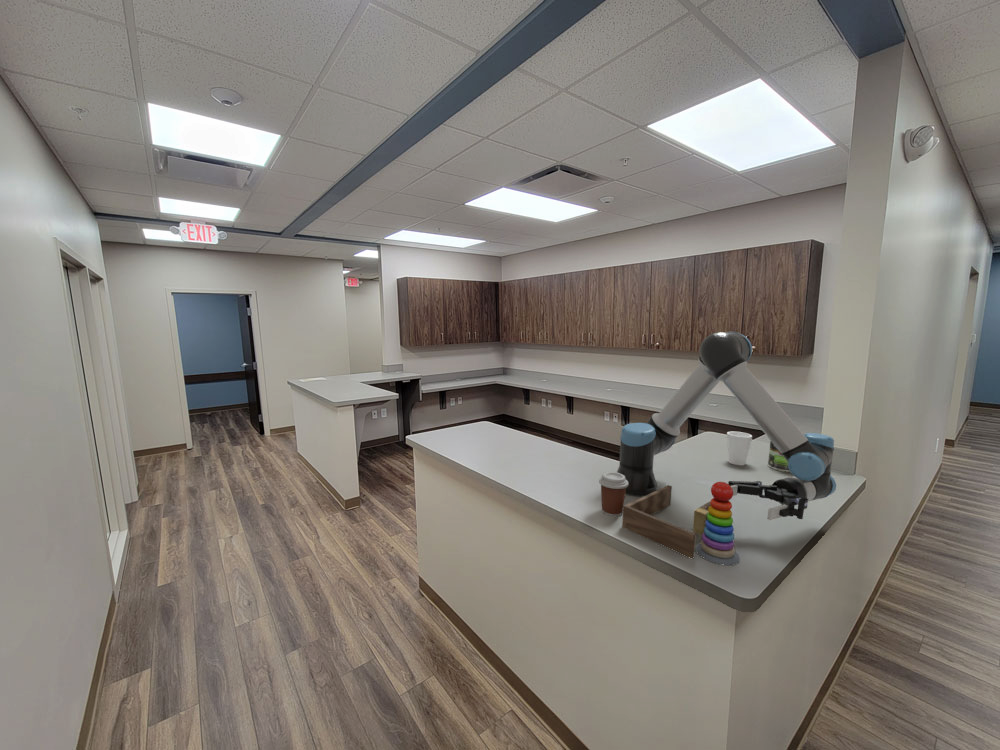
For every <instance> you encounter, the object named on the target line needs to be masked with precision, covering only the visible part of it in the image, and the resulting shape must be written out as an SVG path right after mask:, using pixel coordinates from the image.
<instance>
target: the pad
mask: <svg viewBox="0 0 1000 750" xmlns="http://www.w3.org/2000/svg"><path fill="white" fill-rule="evenodd" d="M695 550H696V551H695V552H696V553H697V552H698V553H697V554H698V556H699V557H701V556H702V557H701V558H703V557H704V558H705V559H704V558H703V559H704V560H706V559H707V560H706V561H708V560H709V561H708V562H710V561H711V562H710V563H713V562H714V564H716V563H717V565H720V564H724V565H723V566H734V565H733V564H735V565H737V564H738V563H739V562H740V555H738V553H737V552H736V551H735V554H734V555H733V556H732V557H729V558H720V557H716V556H713V555H710V554H708V553H706V552H705V551H704V550H703V549H702V547H701V542H700V543H698V544H697V545H695ZM736 563H737V564H736Z"/></svg>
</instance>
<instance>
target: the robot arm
mask: <svg viewBox="0 0 1000 750" xmlns="http://www.w3.org/2000/svg"><path fill="white" fill-rule="evenodd" d="M752 353H753V345H752V342H751V341H750V339H749V338H747V336H745V335H744V334H742V333H739V332H736V331H727V332H723V331H721V332H714V333H712V334H709V335H708V336H707V337H705V338H704V340H702V342H701V344H700V347H699V357H698V365H697V367H695V369H694V370H693V371H692V373H691V374H690V375H689V377H688V378H686V380H685V381H684V382H683V383H682V385H681V386H680V387H679V388H678V389H677V391H676V393H674V395H673V396H672V397H671V398H670V399H669V401H668V402H667V403H666V404H665V406H664V407H663V408H662V410H661V411H660V412H656V413H653V414H652V415H651V416H650V417H649V419H648V420H647V421H646V422H635V423H633V422H631V423H627V424H625V425H624V426H622V427H621V431H620V432H621V433H620V447H619V464H618V465H619V466H618V468H617V471H616V473H620V474H622V475H624V476H625V479H626V480H627V481H628V483H629V485H628V487H626V491H625V495H629V496H634V497H644V496H646V495H648V494H650V493H652V492H655V491H657V490H658V483H657V480H656V477H655V473H654V458H655V457H654V456H656V455H659V454H660V453H664V452H666V451H668V450H670V449H671V448H672V447H673V445H674V444H675V442H676V439H677V437H679V435H680V433H681V431H680V428H681V426H682V425H683V424H684V423H685V422H686V420H688V418H689V417H690V416H691V415H692V414H693V413H694V411H695V410H696V409H697V408H698V407H699V406H700V404H702V402H703V401H704V400H705V399H706V397H707V396H708V395H709V394H710V393H711V392H712V391H713V390H714V388H715V387H716V386H717V385H718V384H719V383H720V382H722V383H723V384H724V385H725V386H726V388H727V389H728V390H729V391H730V393H732V395H733V396H734V397H735V398H736V399H737V401H738V402H739V403H740V404H741V406H742V407H743V408H744V410H745V411H746V412H747V414H749V416H751V418H752V419H753V420H754V421H755V423H756V424H757V425H758V427H759V428H760V430H761V431H762V433H764V434H765V435H766V436H767V438H768V439H769V440H770V441H771V442H772V443H773V444H774V445H775V446H776V448H777V449H778V450H779V451H780V453H781V454H782V455H783V456H784V458H785V459H786V460H787V461H788V468H789V471H790V472H789V473H790V474H792V476H789V477H786V478H785V477H783V478H780V479H777V480H775V481H774V482H773V483H772V484H769V485H766V484H763V482H762V481H760V480H757V481H746V480H745V481H742V480H741V481H739V480H737V481H736V480H728V483H727V484H729V485H730V486H731V488H732V489H733V496H738V494H740V495H749V496H750V495H751V496H758V497H759V498H761V499H769V500H771V501H775V502H778V503H779V504H781V505H778V506H774V507H769V508H768V509H767V510H768V511H767V520H769V521H772V520H775V519H778V518H786V517H796V518H797V519H799V520H803V518H804V511H805V510H807V509H808V504H809V502H811V501H815V500H820V499H826V498H827V497H829V496H831V495H833V494H834V493H835V491H836V490H837V484H836V481H835V478H834V477H833V476H832V475H831V470H832V463H833V456H834V450H835V447H834V446H835V440H834V438H833V437H832V436H829V435H827V434H822V433H816V432H806V433H803V432H802V431H801V430H800V429H799V427H798V426H797V425H796V424H795V423H794V421H793V420H792V419H791V418H790V416H789V415H787V413H786V412H785V411H784V410H783V409H782V407H781V406H780V405H779V404H778V403H777V400H775V398H773V397H772V395H771V393H769V392H768V391H767V389H766V388H765V387H764V386H763V385H762V384H761V383H760V381H759V379H757V377H755V376H754V373H752V372H751V371H750V370H749V368H748V367H747V365H748V361H749V360H750V358H751V357H752ZM763 493H764V494H763ZM733 496H732V497H733ZM795 506H797V508H795Z"/></svg>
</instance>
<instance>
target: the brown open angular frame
mask: <svg viewBox="0 0 1000 750" xmlns="http://www.w3.org/2000/svg"><path fill="white" fill-rule="evenodd" d="M671 501H672V485H670V484H669V485H666V486H664V487H662V488H659V489H657V491H655V492H652V493H650V494H648V495H646V496H641V497H640V498H638V499H635V500H634V501H630V502H629V503H627V504H625V505H623V513H622V522H621V523H622V524H621V527H622V528H623V529H626V530H628V531H630V532H633V533H634V534H637V535H639V536H641V537H643V538H645V539H647V538H648V540H650V541H651V542H652V541H653V542H654V543H656V542H657V543H656V544H658V543H659V544H658V545H660V544H662V545H664V546H663V547H665V546H666V547H665V548H667V547H668V548H667V549H669V548H670V549H669V550H671V549H673V550H675V551H677V552H676V553H678V552H679V553H678V554H680V553H681V554H680V555H682V554H683V555H682V556H684V555H685V557H686V556H687V558H688V557H690V558H692V559H694V558H695V550H696V535H697V533H695V532H693V531H689V530H688V529H685V528H683V527H680V526H679V525H676V524H673V523H671V522H668V521H665V520H663V519H661V518H658V517H656V516H654V514H655V513H658V512H659V511H662V510H664V509H666V508H667V507H669V506H671V503H672V502H671ZM710 501H711V500H709V501H708V502H707V503H705V504H703V505H701V506H700V507H699V508H702V509H705V510H707V511H708V508H709V506H711V504H710ZM706 520H707V514H706ZM705 523H706V522H705ZM705 527H706V524H705ZM662 545H661V546H662ZM673 550H672V551H673ZM675 551H674V552H675ZM693 557H694V558H693ZM690 558H689V559H690Z"/></svg>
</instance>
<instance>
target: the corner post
mask: <svg viewBox="0 0 1000 750" xmlns="http://www.w3.org/2000/svg"><path fill="white" fill-rule="evenodd" d="M693 512H694V513H693V514H694V515H693V522H692V523H693V524H692V525H693V526H692V532H693V533H695V534H696V535H697V534H698V535H700V536H702V535H703V533H704V528H705V522H706V514H708V513H709V512H708V511H707V510H705V509H702V508H700V507H698V508H696V509H694V511H693Z"/></svg>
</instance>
